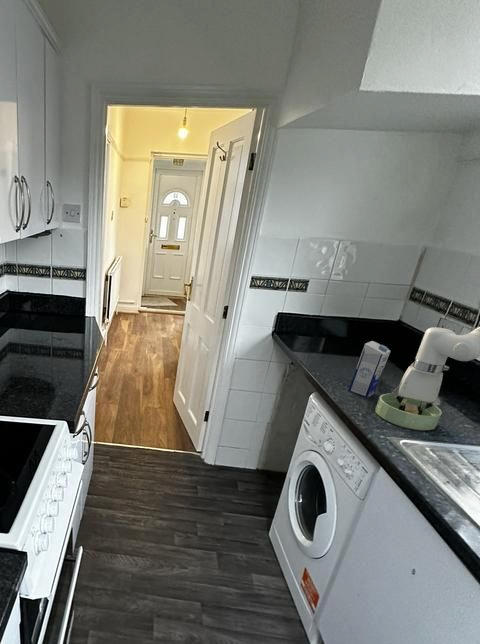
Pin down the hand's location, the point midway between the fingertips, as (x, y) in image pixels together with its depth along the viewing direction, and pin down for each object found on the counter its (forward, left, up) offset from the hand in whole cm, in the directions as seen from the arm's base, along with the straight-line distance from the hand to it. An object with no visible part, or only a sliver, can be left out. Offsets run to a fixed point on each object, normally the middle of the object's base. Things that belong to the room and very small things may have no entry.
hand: (407, 416), depth 139 cm
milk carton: (+14, -15, -1) cm, 20 cm away
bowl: (+1, 0, -1) cm, 1 cm away
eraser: (0, 0, 0) cm, 0 cm away
